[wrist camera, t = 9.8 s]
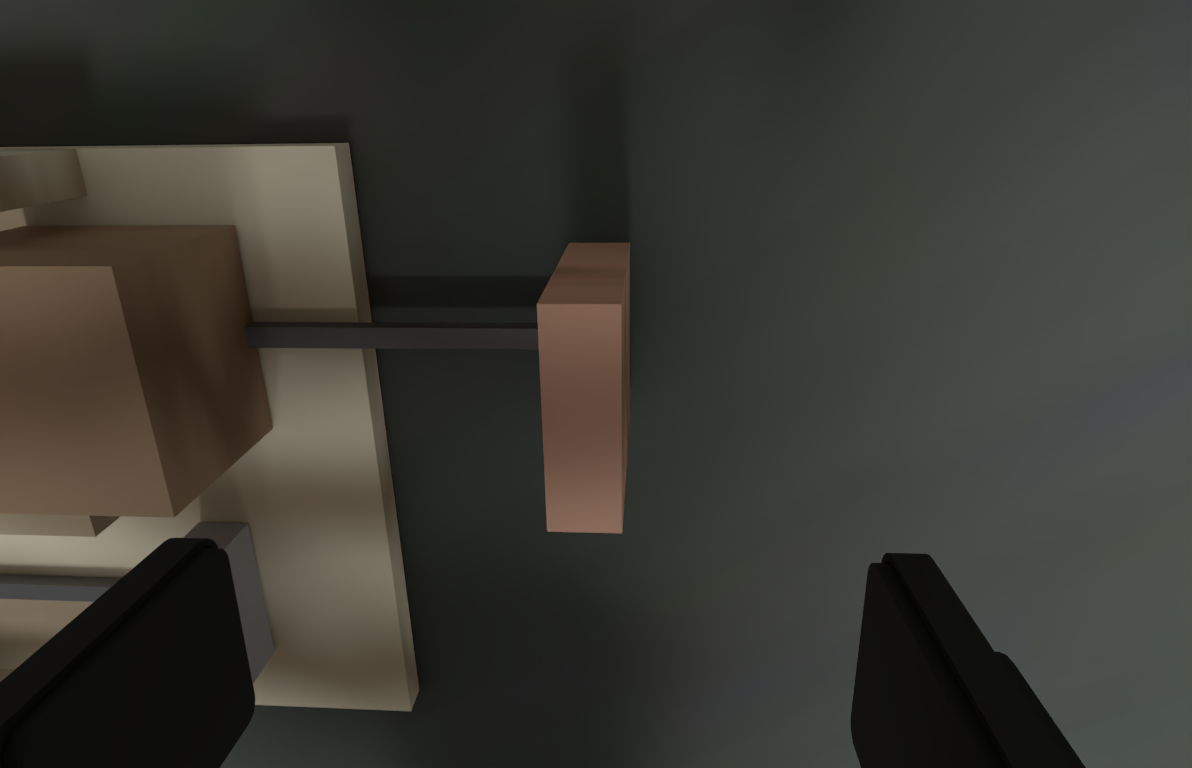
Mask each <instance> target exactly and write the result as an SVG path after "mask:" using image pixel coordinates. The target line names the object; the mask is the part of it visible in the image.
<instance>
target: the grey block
mask: <svg viewBox="0 0 1192 768" xmlns="http://www.w3.org/2000/svg"><path fill="white" fill-rule="evenodd" d="M183 538H210V539H212V540H214V541H215V543H216V544H217V545H218V548H222V549H224V550H225V551H226V552H227V554H228V557H229V561H230V566H231V572H232V577H233V582H234V587H235V593H236V598H237V603H238V608H239V614H240V619H241V624H242V629H243V635H244V640H245V645H246V650H247V656H248V661H249V666H250V671H251V677H252V682H253V683H254V682H255V680H256V679H257V677H258V676H259V674H260V673H261V671H262V670H263V668H264V667H265V665H266V664H267V662H268V661H269V659H270V658H271V656H272V655H273V653H274V652H275V649H274V645H273V640H272V635H271V630H270V626H269V621H268V616H267V611H266V607H265V602H264V597H263V593H262V588H261V583H260V578H259V574H258V569H257V564H256V560H255V555H254V550H253V545H252V541H251V536H250V531H249V527H248V523H208V522H199V523H198V524H197V525H196V526H195V527H193V528H192V529H191V530H190V531H189V532H188V533H187V534H186V535H185V536H184V537H183ZM120 579H121V578H109V577H76V576H42V575H8V574H0V599H22V600H53V601H84V602H94V601H95V600H97V599H98V598H99V597H100V596H101V595H102V594H104V593H105V592H106V591H107V590H108V589H109V588H111V587H112V586H113V585H114V584H115V583H116V582H118V581H119V580H120Z"/></svg>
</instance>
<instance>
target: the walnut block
mask: <svg viewBox="0 0 1192 768" xmlns="http://www.w3.org/2000/svg"><path fill="white" fill-rule="evenodd" d="M537 321H538V323H383V322H253V320H252V315H251V309H250V304H249V299H248V293H247V288H246V283H245V277H244V272H243V267H242V262H241V256H240V251H239V246H238V240H237V235H236V230H235V225H152V226H21V227H17V228H12V229H8V230H3V231H0V513H5V514H48V515H90V516H132V517H174V518H175V517H176V516H177V515H178V514H179V513H180V512H181V511H182V510H183V509H184V508H186V507H187V506H188V505H189V504H190V503H191V502H192V501H193V500H194V499H196V498H197V497H198V496H199V495H200V494H201V493H202V492H203V491H204V490H206V489H207V488H208V487H209V486H210V485H211V484H212V483H213V482H214V481H215V480H217V479H218V478H219V477H220V476H221V475H222V474H223V473H224V472H225V471H227V470H228V469H229V468H230V467H231V466H232V465H233V464H234V463H235V462H237V461H238V460H239V459H240V458H241V457H242V456H243V455H244V454H245V453H246V452H248V451H249V450H250V449H251V448H252V447H253V446H254V445H255V444H256V443H258V442H259V441H260V440H261V439H262V438H263V437H264V436H265V435H266V434H268V433H269V432H270V431H271V430H272V429H273V426H272V421H271V416H270V410H269V405H268V400H267V394H266V389H265V384H264V378H263V373H262V368H261V363H260V357H259V352H258V348H343V349H479V350H539V365H540V387H541V409H542V431H543V453H544V475H545V497H546V518H547V532H585V533H622V529H623V514H624V500H625V485H626V470H627V455H628V440H629V425H630V243H569V244H568V246H567V248H566V250H565V251H564V253H563V255H562V257H561V259H560V261H559V263H558V265H557V267H556V268H555V270H554V272H553V274H552V276H551V278H550V280H549V282H548V284H547V285H546V287H545V289H544V291H543V293H542V295H541V297H540V299H539V301H538V302H537Z"/></svg>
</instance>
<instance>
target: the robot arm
mask: <svg viewBox="0 0 1192 768" xmlns="http://www.w3.org/2000/svg"><path fill="white" fill-rule="evenodd" d="M254 708H255V692H254V687H253V682H252V677H251V671H250V666H249V661H248V656H247V650H246V645H245V640H244V635H243V629H242V624H241V619H240V614H239V608H238V603H237V598H236V593H235V587H234V582H233V577H232V572H231V566H230V561H229V557H228V554H227V552H226V551H225V550H224V549H222V548H218V545H217V544H216V543H215V541H214V540H212V539H210V538H169V539H168V540H166V541H164V542H163V543H162V544H161V545H160V546H158V547H157V548H156V549H155V550H154V551H153V552H151V553H150V554H149V555H148V556H147V557H146V558H144V559H143V560H142V561H141V562H140V563H139V564H137V565H136V566H135V567H134V568H133V569H132V570H130V571H129V572H128V573H127V574H126V575H125V576H123V577H122V578H121V579H120V580H119V581H118V582H116V583H115V584H114V585H113V586H112V587H111V588H109V589H108V590H107V591H106V592H105V593H104V594H102V595H101V596H100V597H99V598H98V599H97V600H95V601H94V602H93V603H92V604H91V605H90V606H88V607H87V608H86V609H85V610H84V611H83V612H81V613H80V614H79V615H78V616H77V617H76V618H74V619H73V620H72V621H71V622H70V623H69V624H67V625H66V626H65V627H64V628H63V629H62V630H60V631H59V632H58V633H57V634H56V635H55V636H53V637H52V638H51V639H50V640H49V641H48V642H46V643H45V644H44V645H43V646H42V647H41V648H39V649H38V650H37V651H36V652H35V653H34V654H32V655H31V656H30V657H29V658H28V659H27V660H25V661H24V662H23V663H22V664H21V665H20V666H18V667H17V668H16V669H15V670H14V671H13V672H11V673H10V674H9V675H8V676H7V677H6V678H4V679H3V680H2V681H1V682H0V768H220V766H221V765H222V763H223V762H224V760H225V759H226V757H227V756H228V754H229V753H230V751H231V750H232V748H233V747H234V745H235V744H236V742H237V741H238V739H239V738H240V736H241V735H242V733H243V732H244V730H245V729H246V727H247V726H248V724H249V722H250V720H251V718H252V715H253V712H254ZM851 732H852V739H853V744H854V747H855V750H856V753H857V756H858V759H859V762H860V765H861V768H1085V766H1084V765H1083V763H1082V762H1081V760H1080V759H1079V757H1078V756H1077V755H1076V753H1075V752H1074V750H1073V749H1072V747H1071V746H1070V744H1069V743H1068V741H1067V740H1066V739H1065V737H1064V736H1063V734H1062V733H1061V731H1060V730H1059V728H1058V727H1057V725H1056V724H1055V723H1054V721H1053V720H1052V718H1051V717H1050V715H1049V714H1048V712H1047V711H1046V709H1045V708H1044V707H1043V705H1042V704H1041V702H1040V701H1039V699H1038V698H1037V696H1036V695H1035V693H1034V692H1033V690H1032V689H1031V688H1030V686H1029V685H1028V683H1027V682H1026V680H1025V679H1024V677H1023V676H1022V674H1021V673H1020V672H1019V670H1018V669H1017V667H1016V666H1015V664H1014V663H1013V662H1012V661H1011V660H1010V659H1009V657H1008V656H1007V655H1005V654H1003V653H1000V652H994V650H993V649H992V647H991V646H990V644H989V643H988V641H987V640H986V638H985V637H984V635H983V634H982V632H981V631H980V629H979V628H978V626H977V625H976V623H975V622H974V620H973V619H972V617H971V616H970V614H969V613H968V611H967V610H966V608H965V607H964V605H963V604H962V602H961V601H960V599H959V598H958V596H957V595H956V593H955V592H954V590H953V589H952V587H951V586H950V584H949V583H948V581H947V580H946V578H945V577H944V575H943V574H942V572H941V571H940V569H939V568H938V566H937V565H936V563H935V562H934V560H933V559H932V558H931V556H930V555H928V554H907V553H886V554H885V555H884V556H883V558H882V561H881V563H872V564H870V566H869V569H868V575H867V584H866V592H865V601H864V609H863V618H862V626H861V635H860V644H859V652H858V661H857V669H856V678H855V686H854V695H853V703H852V712H851Z"/></svg>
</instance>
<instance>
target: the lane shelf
mask: <svg viewBox="0 0 1192 768" xmlns="http://www.w3.org/2000/svg"><path fill="white" fill-rule="evenodd" d="M152 225H235V230H236V235H237V240H238V246H239V251H240V256H241V262H242V267H243V272H244V277H245V283H246V288H247V293H248V299H249V304H250V309H251V315H252V320H253V322H372V319H371V311H370V303H369V295H368V287H367V280H366V272H365V264H364V256H363V248H362V241H361V233H360V225H359V217H358V210H357V202H356V194H355V186H354V178H353V171H352V163H351V155H350V147H349V143H300V144H217V145H134V146H51V147H0V231H3V230H8V229H12V228H17V227H21V226H152ZM258 352H259V357H260V363H261V368H262V373H263V378H264V384H265V389H266V394H267V400H268V405H269V410H270V416H271V421H272V426H273V429H272V430H271V431H270V432H269V433H268V434H266V435H265V436H264V437H263V438H262V439H261V440H260V441H259V442H258V443H256V444H255V445H254V446H253V447H252V448H251V449H250V450H249V451H248V452H246V453H245V454H244V455H243V456H242V457H241V458H240V459H239V460H238V461H237V462H235V463H234V464H233V465H232V466H231V467H230V468H229V469H228V470H227V471H225V472H224V473H223V474H222V475H221V476H220V477H219V478H218V479H217V480H215V481H214V482H213V483H212V484H211V485H210V486H209V487H208V488H207V489H206V490H204V491H203V492H202V493H201V494H200V495H199V496H198V497H197V498H196V499H194V500H193V501H192V502H191V503H190V504H189V505H188V506H187V507H186V508H184V509H183V510H182V511H181V512H180V513H179V514H178V515H177V516H176V517H175V518H174V517H132V516H90V515H48V514H5V513H0V574H8V575H42V576H76V577H109V578H122V577H123V576H125V575H126V574H127V573H128V572H129V571H130V570H132V569H133V568H134V567H135V566H136V565H137V564H139V563H140V562H141V561H142V560H143V559H144V558H146V557H147V556H148V555H149V554H150V553H151V552H153V551H154V550H155V549H156V548H157V547H158V546H160V545H161V544H162V543H163V542H164V541H166V540H168V539H169V538H183V537H184V536H185V535H186V534H187V533H188V532H189V531H190V530H191V529H192V528H193V527H195V526H196V525H197V524H198V523H199V522H208V523H248V527H249V531H250V536H251V541H252V545H253V550H254V555H255V560H256V564H257V569H258V574H259V578H260V583H261V588H262V593H263V597H264V602H265V607H266V611H267V616H268V621H269V626H270V630H271V635H272V640H273V645H274V649H275V652H274V653H273V655H272V656H271V658H270V659H269V661H268V662H267V664H266V665H265V667H264V668H263V670H262V671H261V673H260V674H259V676H258V677H257V679H256V680H255V682H254V683H253V687H254V692H255V705H270V706H294V707H318V708H342V709H366V710H390V711H411V710H412V708H413V705H414V702H415V700H416V697H417V695H418V692H419V684H418V676H417V669H416V661H415V653H414V645H413V637H412V630H411V622H410V614H409V606H408V599H407V591H406V583H405V575H404V567H403V560H402V552H401V544H400V536H399V529H398V521H397V513H396V505H395V497H394V490H393V482H392V474H391V466H390V459H389V451H388V443H387V435H386V427H385V420H384V412H383V404H382V396H381V389H380V381H379V373H378V365H377V357H376V350H375V349H343V348H258ZM92 603H93V602H84V601H53V600H22V599H0V682H1V681H2V680H3V679H4V678H6V677H7V676H8V675H9V674H10V673H11V672H13V671H14V670H15V669H16V668H17V667H18V666H20V665H21V664H22V663H23V662H24V661H25V660H27V659H28V658H29V657H30V656H31V655H32V654H34V653H35V652H36V651H37V650H38V649H39V648H41V647H42V646H43V645H44V644H45V643H46V642H48V641H49V640H50V639H51V638H52V637H53V636H55V635H56V634H57V633H58V632H59V631H60V630H62V629H63V628H64V627H65V626H66V625H67V624H69V623H70V622H71V621H72V620H73V619H74V618H76V617H77V616H78V615H79V614H80V613H81V612H83V611H84V610H85V609H86V608H87V607H88V606H90V605H91V604H92Z"/></svg>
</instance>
